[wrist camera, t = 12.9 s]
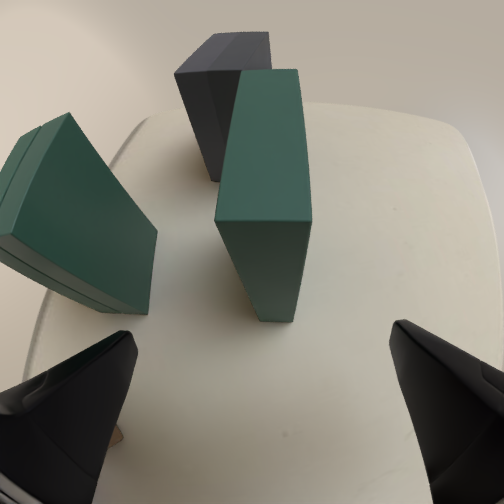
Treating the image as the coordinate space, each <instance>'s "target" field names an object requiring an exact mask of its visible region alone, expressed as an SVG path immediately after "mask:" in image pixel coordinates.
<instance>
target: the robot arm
mask: <svg viewBox="0 0 504 504" xmlns="http://www.w3.org/2000/svg"><path fill="white" fill-rule="evenodd" d="M389 346H390V350H391V354H392V358H393V362H394V366H395V370H396V374H397V378H398V382H399V385H400V388H401V391H402V393H403V396H404V399H405V402H406V405H407V408H408V411H409V414H410V417H411V420H412V423H413V426H414V429H415V433H416V436H417V439H418V443H419V446H420V450H421V453H422V457H423V461H424V465H425V468H426V472H427V477H428V481H429V484H430V485H429V486H430V490H431V495H432V500H433V504H504V372H502V371H500V370H498V369H496V368H494V367H492V366H490V365H488V364H487V363H485V362H483V361H480V360H479V359H478V358H476V357H474V356H472V355H470V354H469V353H467V352H465V351H463V350H461V349H459V348H458V347H456V346H454V345H452V344H450V343H449V342H447V341H445V340H443V339H441V338H439V337H438V336H436V335H434V334H432V333H430V332H428V331H426V330H425V329H423V328H421V327H419V326H417V325H415V324H414V323H412V322H410V321H408V320H406V319H403V320H396V321H395V322H394V323H393V327H392V331H391V336H390V340H389ZM137 356H138V348H137V346H136V343H135V341H134V338H133V335H132V333H131V332H130V331H124V330H120V331H118V332H116V333H114V334H112V335H110V336H109V337H107V338H105V339H103V340H101V341H100V342H98V343H96V344H94V345H92V346H90V347H89V348H87V349H85V350H83V351H81V352H80V353H78V354H76V355H74V356H72V357H70V358H69V359H67V360H65V361H63V362H61V363H59V364H58V365H56V366H54V367H52V368H50V369H48V370H47V371H45V372H43V373H41V374H39V375H37V376H35V377H33V378H31V379H30V380H27V381H25V382H23V383H21V384H19V385H17V386H14V387H12V388H10V389H8V390H5V391H3V392H1V393H0V504H92V501H93V497H94V493H95V489H96V486H97V481H98V478H99V475H100V472H101V468H102V465H103V462H104V459H105V455H106V452H107V449H108V446H109V443H110V440H111V437H112V434H113V431H114V428H115V425H116V423H117V420H118V417H119V414H120V411H121V409H122V406H123V403H124V400H125V398H126V395H127V392H128V389H129V386H130V383H131V379H132V375H133V371H134V367H135V364H136V360H137Z"/></svg>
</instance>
